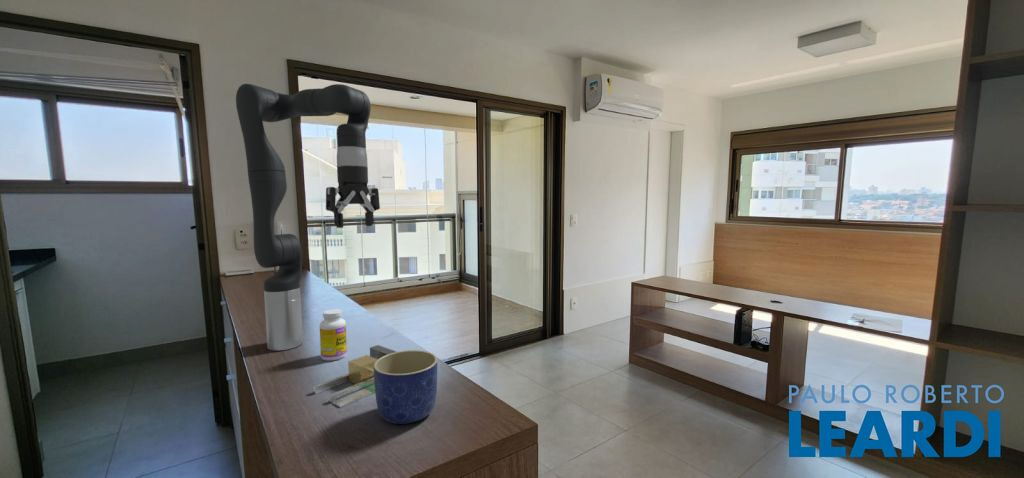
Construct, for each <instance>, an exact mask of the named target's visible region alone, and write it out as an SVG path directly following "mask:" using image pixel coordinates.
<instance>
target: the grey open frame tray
mask: <svg viewBox="0 0 1024 478" xmlns="http://www.w3.org/2000/svg"><path fill="white" fill-rule="evenodd" d="M394 352H397V351H396V350H393V349H391V348H387V347H385V346H382V345H378V344H377V345H374V346H370V347H369V356H371V357H373V358H376V359H379V358H381V357H383V356H385V355H388V354H391V353H394ZM348 382H350V381H349V372H348V373H346V374H343V375H339V376H337V377H334V378H332V379H329V380H326V381H324V382H321V383H319V384H316V385H313V386H312V387H313V389H312V390H313V394H316V395H317V394H319V393H322V392H324V391H327V390H329V389H332V388H335V387H338V386H340V385H343V384H345V383H348ZM374 393H375V381H374V377H373V378H370V379H368V380H365V381H363V382H360V383H358V384H353V385H351V386H347V387H346V388H343V389H341V390H339V391H335V392H334V393H331V394H329V402H330V403H332V405H335V406H336V407H338V408H343V407H345V406H347V405H349V404H351V403H355V402H357V401H358V400H361V399H363V398H365V397H367V396H370V395H372V394H374Z"/></svg>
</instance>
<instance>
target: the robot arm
mask: <svg viewBox="0 0 1024 478" xmlns="http://www.w3.org/2000/svg"><path fill="white" fill-rule="evenodd" d="M235 94H236V95H235V104H236V105H235V106H236V110H237V111H236V112H237V115H238V120H239V126H240V131H241V133H242V137H243V143H244V144H243V145H244V150H245V158H246V167H247V176H248V184H249V189H250V190H249V191H250V197H251V206H252V207H251V208H252V217H253V218H252V221H253V222H252V224H253V225H252V226H253V250H254V255H255V260H256V262H257V264H258V265H259V266H260V267H261V268H265V269H269V268H277V267H278V270H277V271H276V272H275V273H274V274H273V275H271V276H269V277H268V278H266V279H265V280H264V282H263V294H264V295H263V296H264V297H263V298H264V299H263V300H264V313H265V314H264V315H265V327H266V328H265V330H266V344H267V345H266V347H267V350H270V351H285V350H286V351H287V350H291V349H294V348H297V347H299V346H301V345H303V340H304V339H303V322H302V321H303V320H302V319H303V318H302V301H301V300H302V297H301V279H302V271H303V270H302V267H303V260H302V259H303V254H302V253H303V250H302V249H303V248H302V244H301V242H300V240H299V238H298V236H296V235H295V234H292V233H280V234H275V226H274V225H275V218H276V214H277V211H278V210H279V208H280V206H281V204H282V202H283V200H284V198H285V196H286V193H287V189H288V184H287V183H288V182H287V175H286V169H285V164H284V163H283V161H282V159H281V157H280V155H279V154H278V152H277V151H276V150H275V148H274V147H273V145H272V143H271V142H270V141H269V139H268V137H267V134H266V131H265V127H264V122H266V123H277V122H280V121H281V122H282V121H284V120H285V121H286V120H288V119H293V118H299V117H330V116H333V115H335V114H337V113H338V114H342V115H346V116H347V117H348V118H347V122H346V123H342V124H339V125H338V126H337V128H336V143H337V144H336V145H337V146H336V147H337V148H336V171H337V172H336V173H337V174H336V175H337V177H336V178H337V183H338V186H337V187H334V186H327V187H326V189H325V210H326V211H327V212H328V211H329V212H332V214H333V218H334V219H333V221H334V222H333V223H334V226H335V227H336V228H337V229H342V228H344V213H342V212H343V211H344V209H345V208H346V207H348V205H359V206H360V207H362V209H363V210H364V211H365V212H364V216H365V217H364V219H365V220H364V221H365V226H366V227H372V226H373V224H374V221H375V220H374V213H375V212H376V211H379V210H380V208H381V205H380V194H379V189H378V187H371V188H369V187H368V183H369V171H368V170H369V169H368V168H369V167H368V165H369V164H368V153H367V140H366V139H367V137H366V132H367V128H368V125H369V119H370V115H371V109H372V107H371V102H370V99H369V96H368V94H366V93H365V91H362V90H360V89H357V88H354V87H352V86H349V85H346V84H341V83H340V84H338V83H335V84H330V85H327V86H325V87H322V88H308V89H307V88H306V89H302V90H298V91H297V92H295V94H285V93H280V92H276V91H275V90H272V89H270V88H265V87H262V86H258V85H255V84H251V83H243V84H241V85H240V86H239V87H238V89H237V90H236V93H235ZM337 195H339V198H338V200H336V199H337V198H336V196H337ZM368 196H369V198H368Z"/></svg>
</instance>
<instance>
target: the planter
mask: <svg viewBox="0 0 1024 478" xmlns="http://www.w3.org/2000/svg"><path fill="white" fill-rule="evenodd" d="M374 381H375V392H374V393H375V400H376V401H375V402H376V406H377V407H376V408H377V410H378V414H379V415H380V416H381V418H382V419H384V421H387V422H388V423H391V424H397V425H398V424H399V425H406V424H411V423H415V422H418V421H421V420H423V419H424V418H426V417H427V416H428V415H430V414H431V412H432V411H433V410H434V408H435V404H436V401H437V392H438V391H437V390H438V358H437V356H436V355H435V354H434V353H431V352H430V351H429V352H428V351H425V350H416V349H414V350H413V349H411V350H410V349H409V350H401V351H400V350H399V351H396V352H394V353H391V354H388V355H385V356H383V357H381V358H379V359H378V360H377V361H376V362H375V363H374Z"/></svg>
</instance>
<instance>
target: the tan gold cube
mask: <svg viewBox="0 0 1024 478" xmlns="http://www.w3.org/2000/svg"><path fill="white" fill-rule="evenodd" d="M377 360H378V359H376V358H373V357H371V356H370V355H368V354H366V355H363V356H360V357H358V358H354V359H352V360H349V361H348V365H347V366H348V373H349V381H348V382H351V383H353V385H355V384H358V383H360V382H363V381H365V380H368V379H370V378H373V377H374V363H375V362H376V361H377Z"/></svg>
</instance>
